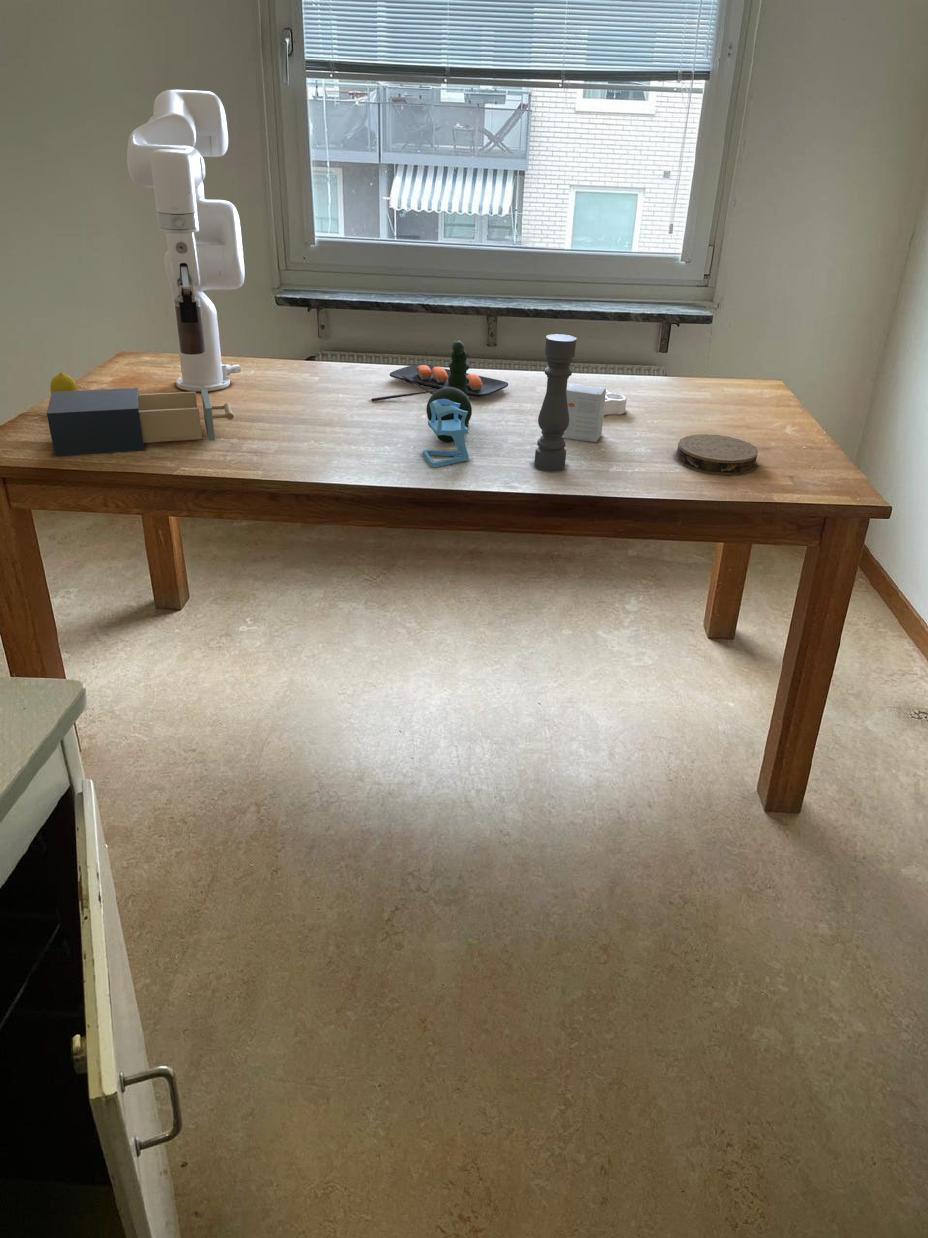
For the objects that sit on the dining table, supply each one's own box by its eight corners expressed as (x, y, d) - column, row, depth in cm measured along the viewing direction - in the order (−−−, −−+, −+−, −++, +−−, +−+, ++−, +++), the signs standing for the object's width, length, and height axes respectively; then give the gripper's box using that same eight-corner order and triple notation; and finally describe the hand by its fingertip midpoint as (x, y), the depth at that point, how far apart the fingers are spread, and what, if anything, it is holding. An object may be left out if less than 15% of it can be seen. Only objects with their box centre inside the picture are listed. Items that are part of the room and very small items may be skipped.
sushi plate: (512, 390, 223) (513, 375, 221) (446, 419, 201) (447, 402, 199) (417, 369, 236) (417, 355, 234) (345, 395, 214) (345, 379, 212)
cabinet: (143, 427, 188) (137, 387, 184) (144, 450, 177) (138, 408, 172) (59, 432, 184) (51, 391, 179) (54, 455, 172) (46, 413, 168)
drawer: (230, 419, 192) (227, 388, 189) (236, 438, 182) (233, 406, 178) (134, 424, 187) (129, 392, 184) (134, 445, 176) (129, 412, 173)
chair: (472, 464, 177) (475, 405, 171) (431, 467, 174) (433, 407, 168) (461, 451, 183) (463, 393, 177) (422, 454, 181) (423, 395, 175)
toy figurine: (436, 421, 204) (420, 448, 182) (439, 335, 196) (423, 352, 174) (477, 424, 204) (466, 452, 181) (482, 338, 196) (471, 356, 173)
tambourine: (707, 478, 175) (710, 464, 174) (661, 452, 188) (663, 438, 186) (771, 469, 181) (774, 455, 179) (722, 444, 193) (725, 431, 192)
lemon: (85, 406, 199) (79, 370, 195) (73, 413, 194) (67, 376, 190) (61, 404, 199) (54, 368, 195) (49, 411, 195) (42, 375, 190)
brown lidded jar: (198, 346, 188) (192, 294, 182) (209, 352, 184) (204, 299, 179) (176, 350, 185) (169, 297, 179) (187, 355, 182) (181, 302, 176)
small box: (601, 435, 195) (607, 387, 190) (596, 443, 191) (602, 394, 186) (566, 430, 198) (570, 382, 192) (560, 437, 193) (564, 389, 188)
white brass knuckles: (618, 400, 219) (629, 418, 207) (545, 397, 218) (551, 416, 206) (619, 386, 218) (631, 404, 205) (546, 384, 217) (553, 401, 204)
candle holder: (531, 460, 180) (542, 333, 168) (562, 460, 181) (574, 334, 168) (536, 471, 175) (547, 341, 162) (567, 471, 175) (581, 341, 163)
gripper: (200, 228, 166) (210, 328, 175) (196, 215, 180) (205, 308, 189) (158, 228, 164) (171, 329, 173) (157, 215, 177) (168, 309, 187)
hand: (189, 317), depth 181 cm, fingers closed on brown lidded jar, 5 cm apart
